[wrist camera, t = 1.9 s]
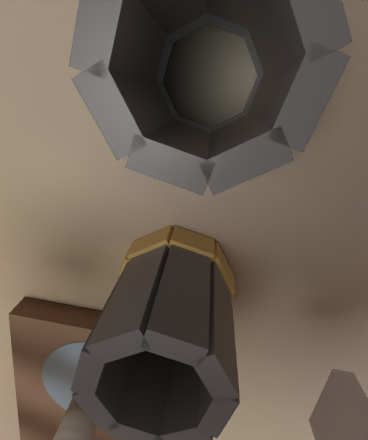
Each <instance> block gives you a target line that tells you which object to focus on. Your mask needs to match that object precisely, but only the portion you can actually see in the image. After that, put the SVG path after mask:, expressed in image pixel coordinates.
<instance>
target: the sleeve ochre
mask: <svg viewBox="0 0 368 440" xmlns="http://www.w3.org/2000/svg"><path fill="white" fill-rule="evenodd" d="M235 293H236V291H235V281H234V274H233V272H232V270H231V268H230V266H229V264H228V262H227V260H226V258H225V256H224V254H223V252H222V250H221V248H220V246H219V244H218V242H216V243H215V239H212V238H209V237H207V236H204V235H201V234H198V233H195V232H192V231H189V230H187V229H184V228H181V227H178V226H175V227H174V230H173V228H172V226H169V227H166V228H164V229H161V230H159V231H157V232H154V233H152V234H150V235H147V236H145V237H142V238H140V239H138V240H135V242H134V243H132V245H131V247H130V249H129V251H128V253H127V254H126V256H125V258H124V261H123V264H122V267H121V271H120V274H119V277H118V281H117V283H116V285H115V287H114V289H113V291H112V293H111V295H110V296H109V298H108V300H107V302H106V304H105V306H104V308H103V310H102V312H101V314H100V316H99V317H98V319H97V321H96V323H95V325H94V327H93V329H92V331H91V333H90V335H89V337H88V339H87V340H86V342H85V344H84V346H83V348H82V350H81V353H80V357H79V360H78V364H77V368H76V371H75V375H74V379H73V382H72V386H71V390H70V391H72V392H73V394H72V397H73V398H74V399H75V400H76V402H77V403H78V404H79V405H80V406H81V408H82V409H83V410H84V411H85V413H86V414H87V415H88V416H89V417H90V419H91V420H92V421H93V422H94V423H95V425H96V426H97V427H98V428H99V429H100V431H101V432H102V431H107V430H108V433H107V435H108V436H111V437H114V438H117V439H121V440H213V437H215V438H218V437H219V435H220V434H221V432H222V430H223V429H224V427H225V426H226V424H227V422H228V421H229V419H230V417H231V416H232V414H233V413H234V411H235V409H236V408H237V406H238V405H239V403H240V402H239V398H240V396H239V384H238V372H237V360H236V348H235V335H234V323H233V311H232V303H233V301H234V299H235V297H236V294H235Z"/></svg>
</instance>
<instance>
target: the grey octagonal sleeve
mask: <svg viewBox="0 0 368 440" xmlns="http://www.w3.org/2000/svg"><path fill="white" fill-rule="evenodd" d="M207 23H209V24H211V25H214V26H216V27H219V28H222V29H224V30H227V31H230V32H232V33H235V34H237V35H240V36H243V37H244V39H245V42H246V44H247V47H248V50H249V52H250V55H251V58H252V60H253V63H254V66H255V69H256V71H257V74H258V76H257V78H256V81H255V83H254V86H253V88H252V91H251V94H250V96H249V99H248V101H247V104H246V106H245V109H244V111H243V112H242V113H240V114H238V115H236V116H234V117H232V118H230V119H228V120H226V121H224V122H222V123H220V124H218V125H216V126H214V127H212V128H209V127H207V126H204V125H201V124H198V123H196V122H193V121H190V120H188V119H185V118H182V117H179V116H178V114H177V112H176V110H175V108H174V106H173V104H172V101H171V99H170V97H169V95H168V93H167V91H166V89H165V87H164V84H163V79H164V75H165V72H166V68H167V64H168V61H169V57H170V54H171V50H172V47H173V43H175V42H176V41H178V40H180V39H182V38H183V37H185V36H187V35H188V34H190V33H192V32H193V31H195V30H197V29H199V28H200V27H202V26H204V25H205V24H207ZM351 42H352V39H351V35H350V31H349V27H348V24H347V20H346V16H345V12H344V9H343V5H342V1H341V0H79V6H78V12H77V18H76V24H75V30H74V37H73V43H72V49H71V55H70V61H69V66H70V67H73V68H76V69H78V70H81V71H83V72H81V73H79V74H78V75H76V76H74V77H73V78H71V79H72V81H73V83H74V85H75V86H76V88H77V90H78V92H79V94H80V95H81V97H82V99H83V101H84V102H85V104H86V106H87V108H88V110H89V111H90V113H91V115H92V117H93V119H94V120H95V122H96V124H97V126H98V127H99V129H100V131H101V133H102V135H103V136H104V138H105V140H106V142H107V143H108V145H109V147H110V149H111V151H112V152H113V154H114V156H115V158H116V160H117V161H118V160H120V159H122V158H124V157H126V156H128V155H129V156H128V159H127V163H126V167H125V168H127V169H130V170H133V171H136V172H139V173H141V174H144V175H147V176H150V177H153V178H155V179H158V180H161V181H164V182H167V183H169V184H172V185H175V186H178V187H181V188H184V189H186V190H189V191H192V192H195V193H198V194H200V195H204V192H205V189H206V187H207V184H208V185H209V187H210V189H211V191H212V193H213V195H215V194H217V193H219V192H222V191H224V190H226V189H229V188H231V187H233V186H236V185H238V184H240V183H243V182H245V181H247V180H250V179H252V178H254V177H256V176H259V175H261V174H263V173H266V172H268V171H270V170H273V169H275V168H277V167H280V166H282V165H284V164H287V163H289V162H291V161H294V158H293V156H292V153H291V150H290V148H293V149H296V150H298V151H301V152H303V151H304V149H305V147H306V145H307V143H308V141H309V139H310V137H311V135H312V133H313V131H314V129H315V127H316V125H317V123H318V121H319V119H320V117H321V115H322V113H323V111H324V109H325V107H326V105H327V103H328V101H329V98H330V96H331V94H332V92H333V90H334V88H335V86H336V84H337V82H338V80H339V78H340V76H341V74H342V72H343V70H344V68H345V66H346V64H347V62H348V60H349V58H350V56H349V55H346V54H343V53H341V52H338V51H336V50H337V49H339V48H341V47H343V46H345V45H347V44H349V43H351Z"/></svg>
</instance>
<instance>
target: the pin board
mask: <svg viewBox="0 0 368 440" xmlns="http://www.w3.org/2000/svg"><path fill="white" fill-rule="evenodd" d="M101 312H102V311H97V310H91V309H86V308H81V307H75V306H70V305H65V304H60V303H54V302H49V301H44V300H38V299H33V298H28V297H24V298H23V299H22V300H21V301H20V302H19V304H18V305H17V306H16V307H15V308H14V309H13V310H12V311H11V312H10V313H9V322H10V333H11V344H12V354H13V365H14V375H15V386H16V397H17V407H18V418H19V428H20V439H21V440H121V439H117V438H114V437H111V436H108V435H107V433H108V430H107V431H102V432H101V431H100V429H99V428H98V427H97V426H96V425H95V423H94V422H93V421H92V420H91V419H90V417H89V416H88V415H87V414H86V413H85V411H84V410H83V409H82V408H81V406H80V405H79V404H78V403H77V402H76V400H75V399H74V398H73V397H72V394H73V392H72V391H70V390H71V386H72V382H73V379H74V375H75V371H76V368H77V364H78V360H79V357H80V353H81V350H82V348H83V346H84V344H85V342H86V340H87V339H88V337H89V335H90V333H91V331H92V329H93V327H94V325H95V323H96V321H97V319H98V317H99V316H100V314H101Z"/></svg>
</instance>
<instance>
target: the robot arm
mask: <svg viewBox="0 0 368 440" xmlns="http://www.w3.org/2000/svg"><path fill="white" fill-rule="evenodd" d="M309 422H310V425H311V428H312V431H313V434H314V437H315V440H368V398H367V397H366V395H365V393H364V391H363V389H362V387H361V385H360V383H359V382H358V380H357V378H356V376H355V374H354V373H352V372H347V371H341V370H335V369H333V370H332V372H331V374H330V376H329V378H328V380H327V382H326V385H325V387H324V389H323V391H322V393H321V395H320V397H319V400H318V402H317V404H316V406H315V408H314V410H313V413H312V415H311V417H310V419H309Z"/></svg>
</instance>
